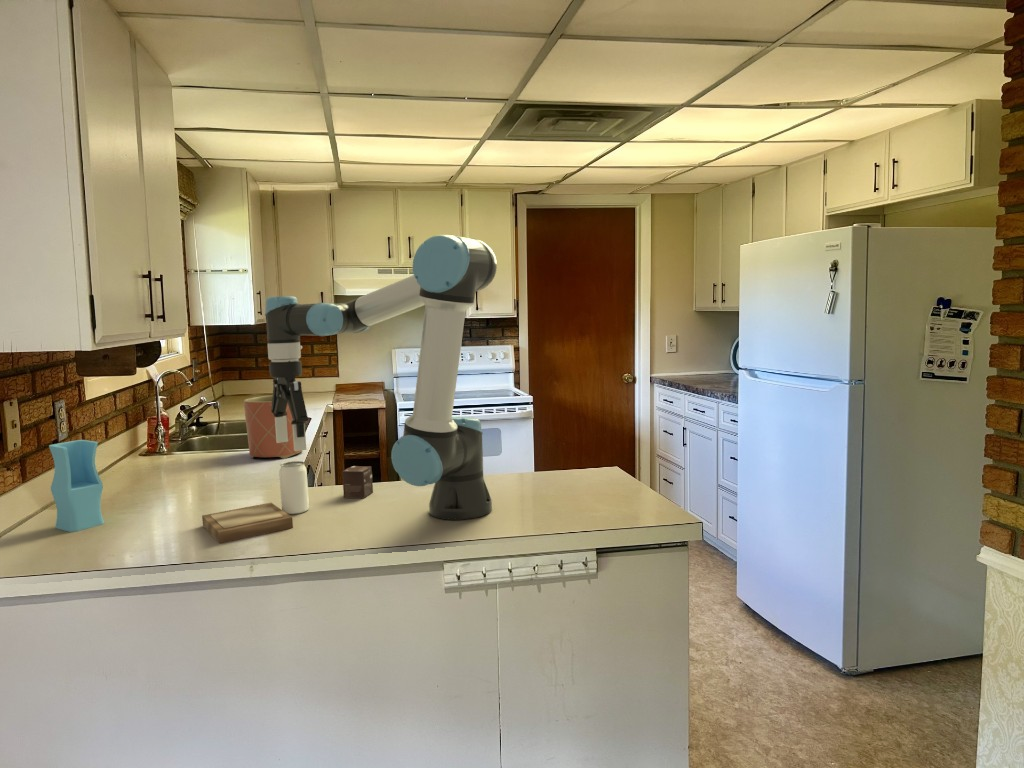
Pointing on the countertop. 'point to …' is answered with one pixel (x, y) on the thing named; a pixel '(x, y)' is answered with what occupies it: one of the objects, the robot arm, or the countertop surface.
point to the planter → (266, 429)
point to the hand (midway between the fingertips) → (291, 446)
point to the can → (294, 487)
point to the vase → (76, 485)
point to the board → (246, 522)
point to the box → (357, 482)
